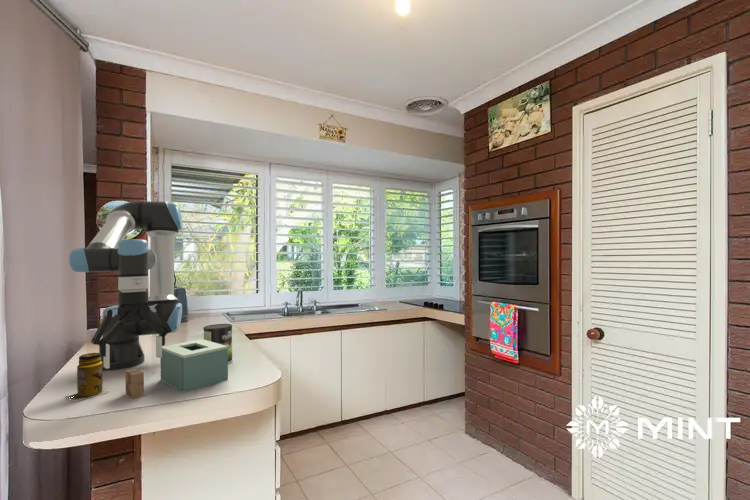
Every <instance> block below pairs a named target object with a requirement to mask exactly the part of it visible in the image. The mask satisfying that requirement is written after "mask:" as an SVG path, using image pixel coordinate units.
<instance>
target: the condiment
mask: <svg viewBox="0 0 750 500" xmlns="http://www.w3.org/2000/svg"><path fill="white" fill-rule="evenodd" d="M76 369H77V371H76V377H77V378H76V379H77V380H76V381H77V383H76V384H77V387H76V388H77V389H76V390H77V392H76V393H74V394H71V395H66V396H63V398H64V399H66V398H68V399H71V401H72V402H75V403H76V402H80V401H83V400H87V399H90V398H93V397H97V396H100V395H103V394H107V393H109V391H107V390H104V389H103V384H104V383H103V382H104V381H103V370H102V361H101V357H100V355H99V352H89V353H84V354H81V355H80V356H79V357H78V365H77V366H76ZM73 396H74V397H73ZM69 397H70V398H69ZM71 397H73V398H71ZM68 399H67V400H68Z"/></svg>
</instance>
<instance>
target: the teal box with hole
mask: <svg viewBox="0 0 750 500" xmlns="http://www.w3.org/2000/svg"><path fill="white" fill-rule="evenodd" d="M159 359H160V381H161V382H163V383H166V384H167V385H170V386H172V387H173V388H175V389H177V390H179V391H181V392H183V393H185V392H190V391H192V390H197V389H199V388H203V386H204V387H207V386H210V385H214V384H217V383H220V382H224V381H227V379H228V380H229V364H228V346H225V345H222V344H218V343H214V342H211V341H207V340H204V338H202V339H196V340H190V341H185V342H181V343H180V342H179V343H175V344H169V345H164V346H162V358H159Z"/></svg>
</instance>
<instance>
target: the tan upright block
mask: <svg viewBox="0 0 750 500" xmlns="http://www.w3.org/2000/svg"><path fill="white" fill-rule="evenodd" d="M124 374H125V377H124V378H125V395H126V396H127V397H129V398H130V399H132V400H134V399H137V398H140V397H144V396H145V372H144V371H143V370H140V369H139V368H133V369H128V370H125V372H124Z"/></svg>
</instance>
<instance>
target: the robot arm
mask: <svg viewBox="0 0 750 500" xmlns="http://www.w3.org/2000/svg"><path fill="white" fill-rule="evenodd" d="M183 226H184V224H183V217H182V212H181V208H180V205H179V204H178V203H176V202H172V201H150V200H149V201H145V200H143V201H141V200H134V201H128V202H125V203H124V204H120V205H119V206H117V207H115V208H114V209H112V210H111V211H110V212H109V213H108V214H107V216H106V218H105V223H104V225H103V226H102V227H101V229H100V230H99V231H98V232H97V234H96V235H95V236H94V237H93V239H92V240H91V241H90V243H89V244H88V245H87V246H86V247H80V248H79V247H78V248H74V249H73V248H72V250H71V251H70V254H69V258H68V260H69V261H68V262H69V266H70V269H71V270H72V271H73V272H76V273H87V274H88V273H101V272H102V273H106V272H107V273H108V272H117V274H118V279H117V280H118V282H117V283H118V284H117V287H118V288H117V289H118V291H120V292H119V293H118V295H117V296H118V300H117V302H118V304H116V305H112V306H108V307H106V308H104V309H103V310H102V317H101V318H102V320H101V322H100V323H99V326H98V328H97V329H96V332H95V333H94V335H93V337H92V338H91V340H90V343H91V344H93V345H96V346H97V345H98V346H99V347H98V348H99V349H98V353H99V355H100V357H101V361H102V371H112V370H113V371H115V370H121V369H126V368H131V367H135V366H137V365H141V364H143V363H144V362H145V353H144V350H143V348H142V345H141V342H140V336H151V335H155V357H156V358H158V359H160V358H162V347H163V346H166V336H167V334H171V333H172V334H173V333H176V332H177V331H179V328H180V325H181V321H182V316H183V304H182V303H180V302H179V298H177V297H176V296H175V238H176V237H178V235H179V231H181V230H183V228H184V227H183ZM133 230H136V231H137V230H142V231H143V230H145V233H146V235H147V236H149V239H150V243H148V241H147V240H146V239H135V238H134V239H133V238H132V239H131V238H129V239H127V238H126V236H127V235H128V234H129V233H132V231H133ZM125 238H126V239H125ZM149 244H150V245H149ZM149 246H150V247H149ZM148 289H149V291H148Z"/></svg>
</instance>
